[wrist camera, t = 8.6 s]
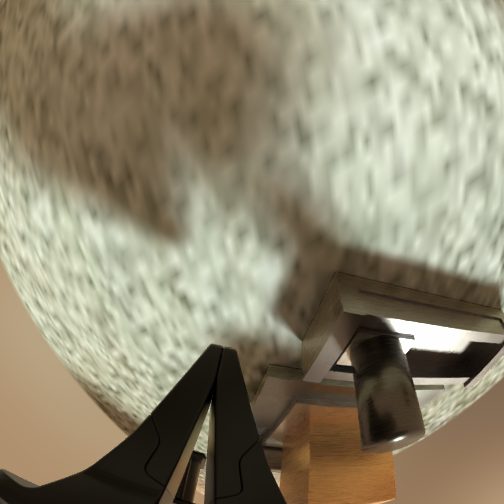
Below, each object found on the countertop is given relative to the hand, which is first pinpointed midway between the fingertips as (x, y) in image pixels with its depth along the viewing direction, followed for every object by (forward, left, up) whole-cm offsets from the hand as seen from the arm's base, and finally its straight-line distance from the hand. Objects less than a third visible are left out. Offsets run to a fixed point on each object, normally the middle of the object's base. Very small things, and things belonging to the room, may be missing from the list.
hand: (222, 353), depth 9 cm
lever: (0, -6, -2) cm, 6 cm away
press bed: (-10, -8, -3) cm, 13 cm away
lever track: (0, -9, -3) cm, 10 cm away
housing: (-10, -8, -2) cm, 13 cm away
